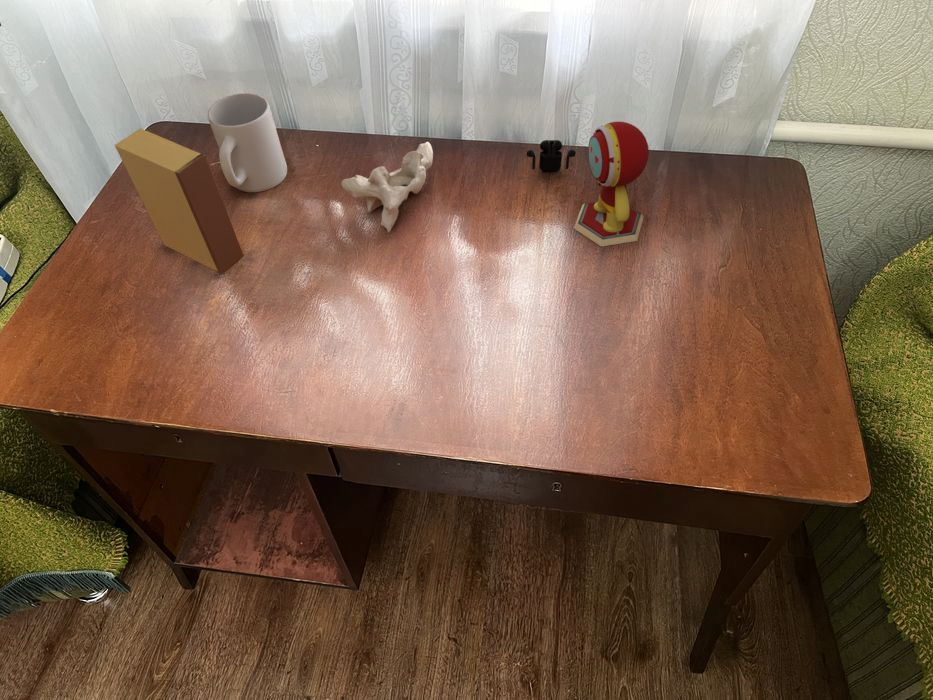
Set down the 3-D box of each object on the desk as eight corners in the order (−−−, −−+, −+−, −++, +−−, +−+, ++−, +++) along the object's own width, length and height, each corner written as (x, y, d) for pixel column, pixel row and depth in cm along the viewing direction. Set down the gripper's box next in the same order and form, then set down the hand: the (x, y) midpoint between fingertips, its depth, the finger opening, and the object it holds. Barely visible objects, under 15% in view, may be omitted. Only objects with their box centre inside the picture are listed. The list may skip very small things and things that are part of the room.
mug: (243, 155, 107) (221, 90, 99) (295, 160, 106) (278, 94, 97) (212, 205, 100) (185, 139, 91) (267, 211, 99) (246, 145, 90)
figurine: (564, 208, 97) (574, 112, 85) (632, 197, 98) (651, 101, 86) (583, 249, 92) (596, 153, 80) (654, 238, 92) (677, 141, 81)
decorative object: (353, 219, 99) (334, 171, 93) (418, 166, 105) (404, 118, 99) (396, 236, 94) (378, 187, 88) (462, 180, 100) (449, 130, 94)
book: (113, 145, 82) (178, 173, 78) (140, 127, 85) (205, 154, 81) (163, 245, 95) (222, 274, 91) (186, 228, 97) (243, 255, 93)
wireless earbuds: (526, 173, 102) (527, 144, 98) (525, 163, 104) (527, 133, 100) (573, 173, 102) (577, 143, 98) (573, 163, 103) (576, 133, 99)
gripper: (-132, -159, 52) (-10, 48, 65) (30, -207, 60) (111, -13, 72) (-183, -172, 55) (-56, 30, 68) (-22, -217, 62) (65, -27, 75)
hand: (30, 8), depth 70 cm, fingers open, 8 cm apart
